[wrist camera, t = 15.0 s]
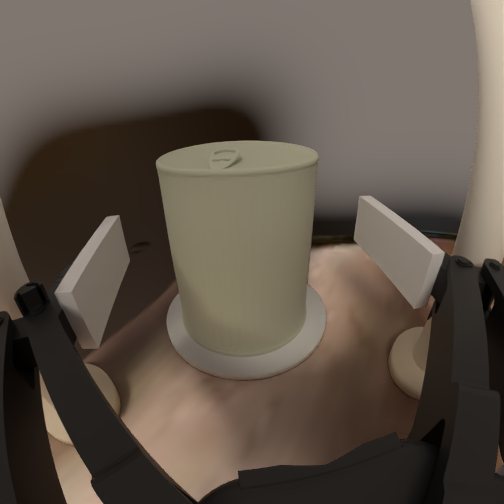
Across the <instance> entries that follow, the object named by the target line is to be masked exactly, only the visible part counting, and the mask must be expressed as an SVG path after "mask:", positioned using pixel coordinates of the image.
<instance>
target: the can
mask: <svg viewBox="0 0 504 504" xmlns="http://www.w3.org/2000/svg"><path fill="white" fill-rule="evenodd" d="M318 160H319V155H318V153H317V152H316V151H314V150H313V149H310V148H307V147H304V146H300V145H295V144H290V143H282V142H271V141H229V142H217V143H209V144H202V145H196V146H191V147H186V148H183V149H179V150H175V151H172V152H170V153H167V154H165V155H163V156H161V157H160V158H158V160H157V161H156V167H157V170H158V175H159V181H160V187H161V193H162V200H163V206H164V213H165V219H166V225H167V231H168V237H169V242H170V248H171V253H172V259H173V264H174V269H175V275H176V280H177V285H178V290H179V295H180V300H181V306H182V320H183V324H184V327H185V329H186V331H187V332H188V334H189V335H190V336H191V338H192V339H193V340H194V341H195V342H197V343H198V344H199V345H201V346H202V347H204V348H206V349H208V350H210V351H212V352H215V353H218V354H222V355H227V356H234V357H251V356H258V355H263V354H266V353H270V352H272V351H275V350H277V349H279V348H281V347H283V346H285V345H286V344H288V343H289V342H290V341H292V340H293V339H294V338H295V337H296V336H297V335H298V333H299V332H300V331H301V329H302V327H303V325H304V323H305V319H306V293H307V282H308V272H309V261H310V250H311V239H312V228H313V227H312V226H313V215H314V202H315V189H316V177H317V164H318Z"/></svg>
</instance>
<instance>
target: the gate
mask: <svg viewBox="0 0 504 504" xmlns="http://www.w3.org/2000/svg"><path fill="white" fill-rule="evenodd" d="M470 3H471V7H472V14H473V19H474V27H475V35H476V43H477V44H476V45H477V57H478V120H477V133H476V143H475V152H474V159H473V166H472V172H471V178H470V184H469V189H468V194H467V199H466V204H465V209H464V213H463V216H462V221H461V224H460V228H459V232H458V236H457V239H456V243H455V246H454V249H453V253H452V256H453V255H458V256H462V257H465V258H467V259H468V260H470V261H471V262H472V263H473V264H474V266H475V267H479V268H482V265H483V262H484V260H485V259H486V258H490V259H495V260H497V261H499V263H502V261H503V258H504V0H470ZM28 282H30V281H29V279H28V277H27V275H26V272H25V270H24V267H23V265H22V263H21V260H20V257H19V255H18V252H17V249H16V246H15V244H14V241H13V238H12V235H11V232H10V229H9V226H8V223H7V219H6V216H5V212H4V209H3V205H2V201H1V198H0V312H1V311H7V312H8V313H9V315H10V317H11V319H12V320H15V319H18V318H22V317H23V316H22V314H21V312H20V310H19V308H18V306H17V304H16V302H15V300H14V295H15V293H16V291H17V290H18V289H19V288H20V287H21V286H23V285H24V284H26V283H28ZM431 320H432V317H430V319H429V320H427V322H426V324H425V326H424V327H415V328H411V329H408V330H406V331H404V332H403V333H401V334H400V335H399V336H398V337H397V339H396V340H395V342H394V344H393V347H392V349H391V351H390V354H389V357H388V368H389V372H390V375H391V377H392V379H393V381H394V382H395V384H396V385H397V386H398V387H399V388H400V389H401V390H402V391H403V392H404V393H406V394H407V395H409V396H411V397H413V398H415V399H418V400H420V396H421V391H422V386H423V380H424V375H425V369H426V362H427V356H428V348H429V340H430V331H431ZM84 364H85V366H86V368H87V369H88V371H89V373H90V374H91V376H92V378H93V379H94V381H95V382H96V384H97V385H98V387H99V389H100V390H101V392H102V393H103V395H104V396H105V398H106V399H107V400H108V402H109V403H110V405H111V406H112V408H113V409H114V410H115V412H116V413H117V415H118V416H119V413H120V397H119V393H118V391H117V389H116V387H115V385H114V384H113V382H112V381H111V379H110V378H109V376H108V375H107V374H106V373H105V372H104V371H103V370H102V369H101V368H99V367H97V366H95V365H92V364H88V363H84ZM39 375H40V386H41V396H42V404H43V411H44V417H45V423H46V429H47V431H48V432H49V433H50V434H51V435H53V436H54V437H55V438H56V439H57V440H59V441H60V442H62V443H64V444H67V445H70V446H74V445H73V443H72V441H71V439H70V438H69V436H68V434H67V432H66V430H65V428H64V426H63V424H62V422H61V420H60V418H59V416H58V414H57V412H56V409H55V407H54V405H53V403H52V400H51V398H50V396H49V393H48V391H47V389H46V386H45V384H44V381H43V378H42V376H41V373H40V370H39Z"/></svg>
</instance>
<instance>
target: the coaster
mask: <svg viewBox="0 0 504 504" xmlns="http://www.w3.org/2000/svg"><path fill="white" fill-rule="evenodd" d="M325 324H326V311H325V307H324V304H323V302H322V300H321V298H320V296H319V295H318V293H317V292H316V291H315V290H314V289H313V288H312V287H311V286H310V285H308V284H307V293H306V319H305V323H304V325H303V327H302V329H301V331H300V332H299V333H298V335H297V336H296V337H295V338H294V339H293V340H292V341H290V342H289V343H288V344H286V345H285V346H283V347H281V348H279V349H277V350H275V351H272V352H270V353H266V354H263V355H258V356H251V357H234V356H227V355H222V354H218V353H215V352H212V351H210V350H208V349H206V348H204V347H202V346H201V345H199V344H198V343H197V342H195V341H194V340H193V339H192V338H191V336H190V335H189V334H188V332H187V331H186V329H185V327H184V324H183V320H182V306H181V300H180V295H179V293H178V294H177V296H176V297H175V298H174V300H173V301H172V303H171V305H170V307H169V310H168V314H167V330H168V334H169V337H170V340H171V342H172V344H173V346H174V348H175V349H176V351H177V353H178V354H179V355H180V356H181V357H182V358H183V359H184V360H185V361H187V362H188V363H189V364H190V365H192V366H193V367H195V368H197V369H199V370H200V371H203V372H205V373H208V374H210V375H213V376H217V377H221V378H226V379H233V380H254V379H262V378H267V377H272V376H275V375H278V374H281V373H284V372H286V371H288V370H290V369H292V368H294V367H296V366H297V365H299V364H300V363H302V362H303V361H305V360H306V359H307V358H308V357H309V356H310V355H311V354H312V353H313V352H314V350H315V349H316V348H317V347H318V345H319V343H320V341H321V339H322V337H323V334H324V330H325Z"/></svg>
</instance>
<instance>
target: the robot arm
mask: <svg viewBox="0 0 504 504" xmlns="http://www.w3.org/2000/svg"><path fill="white" fill-rule="evenodd" d="M354 240H355V241H356V242H357V243H358V245H359V246H360V247H361V248H362V249H363V250H364V251H365V252H366V253H367V254H368V256H369V257H370V258H371V259H372V260H373V261H374V262H375V263H376V264H377V266H378V267H379V268H380V269H381V270H382V271H383V272H384V274H385V275H386V276H387V277H388V278H389V279H390V281H391V282H392V283H393V284H394V285H395V286H396V288H397V289H398V290H399V291H400V292H401V294H402V295H403V296H404V297H405V298H406V300H407V301H408V302H409V303H410V304H411V306H412V307H413V308H414V309H417V308H421V307H424V306H427V303H428V301H429V298H430V296H431V295H432V296H433V297H434V298H435V302H434V304H433V307H432V309H431V311H430V314H429V316H428V318H427V320H429V319H430V317H432V320H431V331H430V340H429V348H428V356H427V362H426V369H425V375H424V380H423V386H422V391H421V396H420V400H419V405H418V409H417V413H416V417H415V421H414V425H413V428H412V430H411V433H410V434H409V436H408V438H407V439H400V440H399V438H398V436H397V434H396V432H394V433H392V434H389V435H387V436H384V437H381V438H379V439H376V440H373V441H370V442H367V443H365V444H362V445H360V446H359V447H357V448H355V449H354V450H352V451H351V452H349V453H347V454H345V455H344V456H342V457H340V458H338V459H337V460H335V461H333V462H331V463H329V464H327V465H315V466H294V465H278V466H272V467H266V468H259V469H251V470H243V471H238V475H239V478H238V479H235V480H232V481H229V482H227V483H225V484H223V485H221V486H219V487H217V488H215V489H214V490H212V491H211V492H209V493H208V494H207V495H205V496H204V497H203V498H202V499H201V500H200V501H199V502H197V501H196V500H195V499H194V498H192V497H191V496H190V495H189V494H188V493H187V492H186V491H185V490H184V489H183V488H182V487H180V486H179V485H178V484H177V483H176V482H175V481H174V480H173V479H172V478H171V477H170V476H169V475H168V474H167V473H166V472H165V471H164V470H163V469H162V468H161V467H160V466H159V464H158V463H157V462H156V461H155V460H154V459H153V458H152V457H151V456H150V454H149V453H148V452H147V451H146V450H145V449H144V448H143V446H142V445H141V444H140V443H139V442H138V440H137V439H136V438H135V437H134V435H133V434H132V433H131V432H130V430H129V429H128V428H127V427H126V425H125V424H124V423H123V421H122V420H121V419H120V417H119V416H118V415H117V413H116V412H115V410H114V409H113V408H112V406H111V405H110V403H109V402H108V400H107V399H106V398H105V396H104V395H103V393H102V392H101V390H100V389H99V387H98V385H97V384H96V382H95V381H94V379H93V378H92V376H91V374H90V373H89V371H88V369H87V368H86V366H85V364H84V363H83V361H82V359H81V357H80V356H79V354H78V352H77V350H76V349H75V347H74V344H75V341H76V338H77V340H78V341H79V343H80V345H81V346H82V348H86V349H87V348H88V349H99V345H100V342H101V338H102V336H103V333H104V329H105V326H106V323H107V320H108V318H109V315H110V312H111V309H112V306H113V303H114V300H115V298H116V295H117V292H118V290H119V287H120V284H121V282H122V279H123V277H124V274H125V271H126V269H127V267H128V264H129V262H130V258H129V255H128V251H127V247H126V243H125V239H124V234H123V230H122V226H121V222H120V217H119V215H117V216H110V217H106V218H105V219H104V221H103V222H102V223H101V225H100V226H99V227H98V229H97V230H96V232H95V233H94V234H93V236H92V237H91V238H90V240H89V241H88V243H87V244H86V245H85V247H84V248H83V249H82V251H81V253H80V254H79V255H78V257H77V258H76V260H75V261H74V263H72V264H69V265H68V266H67V267H66V268H65V269H63V270H62V272H61V273H60V275H59V276H58V278H57V279H56V281H55V282H54V284H53V286H52V287H51V289H50V290H49V292H48V293H46V291H45V288H44V286H43V284H42V283H41V282H40V281H31V282H28V283H26V284H24V285H23V286H21V287H20V288H19V289H18V290H17V291H16V293H15V295H14V300H15V302H16V304H17V306H18V308H19V310H20V312H21V314H22V316H23V317H22V318H18V319H15V320H12V319H11V317H10V315H9V313H8V312H7V311H1V312H0V504H67V503H66V500H65V497H64V494H63V491H62V488H61V485H60V482H59V479H58V475H57V472H56V468H55V464H54V461H53V457H52V453H51V448H50V444H49V439H48V434H47V429H46V423H45V417H44V411H43V404H42V396H41V386H40V375H39V370H40V373H41V376H42V378H43V381H44V384H45V386H46V389H47V391H48V393H49V396H50V398H51V400H52V403H53V405H54V407H55V409H56V412H57V414H58V416H59V418H60V420H61V422H62V424H63V426H64V428H65V430H66V432H67V434H68V436H69V438H70V439H71V441H72V443H73V445H74V447H75V448H76V450H77V452H78V454H79V455H80V457H81V459H82V460H83V462H84V464H85V465H86V467H87V468H88V470H89V472H90V473H91V475H92V480H91V485H92V487H93V489H94V491H95V492H96V494H97V495H98V497H99V498H100V500H101V501H102V502H103V504H504V465H502V466H501V467H500V468H499V469H498V472H497V473H495V467H496V460H497V452H498V443H499V448H500V452H501V457H502V460H503V463H504V266H503V265H502V264H501V263H499V261H497V260H495V259H490V258H486V259H485V260H484V262H483V265H482V268H479V267H475V266H474V264H473V263H472V262H471V261H470V260H468V259H467V258H465V257H462V256H458V255H453V256H451V257H450V256H449V255H448V254H447V253H446V252H445V251H443V250H442V249H441V248H440V247H439V246H437V245H436V244H435V243H434V242H432V241H431V240H430V239H429V238H428V237H426V236H425V235H423V234H422V233H420V232H419V231H418V230H417V229H415V228H414V227H412V226H411V225H410V224H409V223H407V222H406V221H405V220H403V219H402V218H400V217H399V216H398V215H397V214H395V213H394V212H393V211H391V210H390V209H388V208H387V207H386V206H384V205H383V204H381V203H380V202H378V201H377V200H376V199H374V198H373V197H371V196H359V204H358V212H357V220H356V227H355V234H354ZM493 299H494V306H493V308H492V310H491V307H490V306H491V304H492V301H493Z"/></svg>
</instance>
